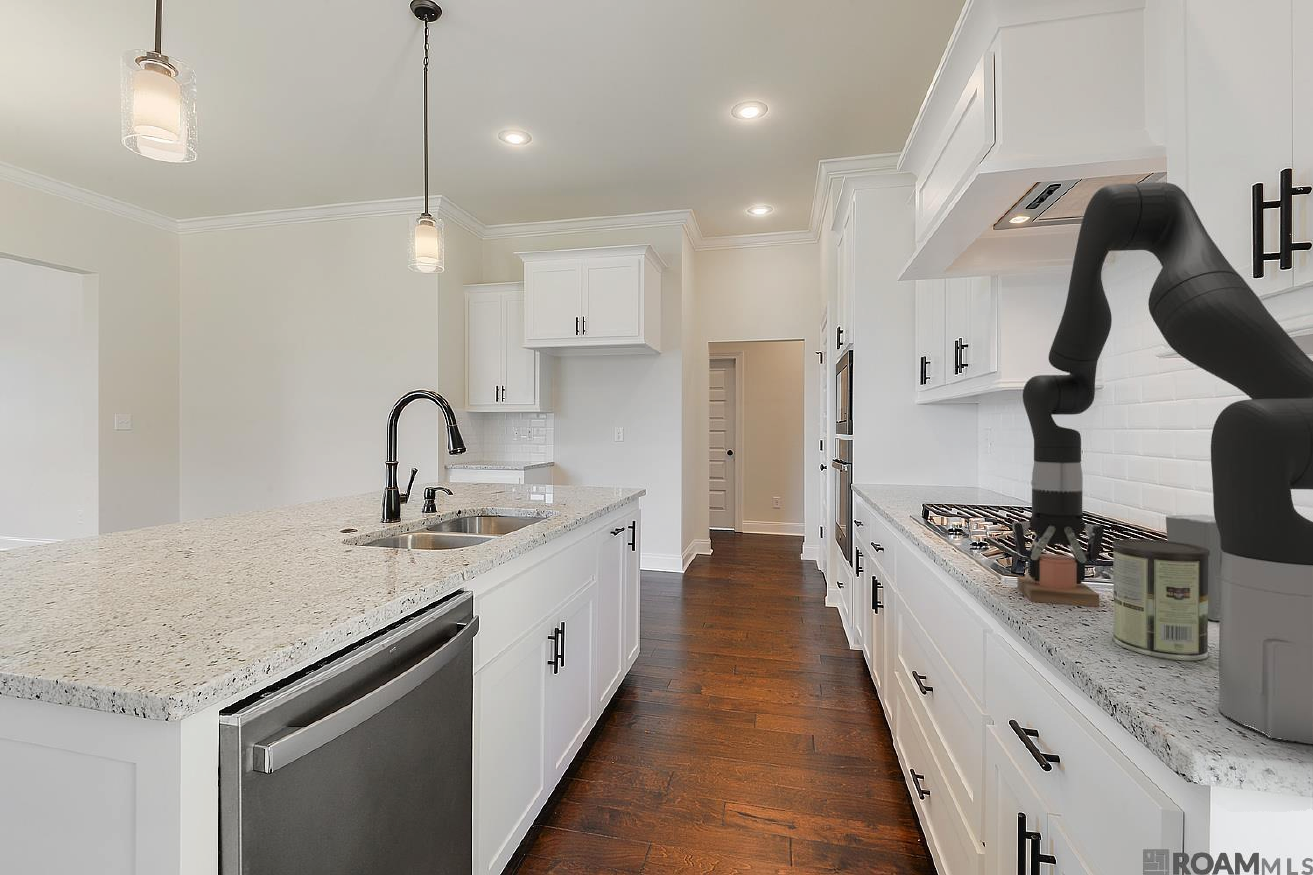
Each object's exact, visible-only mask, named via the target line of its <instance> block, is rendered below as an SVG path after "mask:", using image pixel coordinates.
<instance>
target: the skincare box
mask: <svg viewBox="0 0 1313 875" xmlns="http://www.w3.org/2000/svg"><path fill="white" fill-rule="evenodd" d="M1165 527H1166V528H1165V529H1166V541H1171V542H1179V543H1186V544H1191V545H1196V546H1200V547H1204V548H1206V549H1208V550H1209V551H1210V555H1209V557H1208V620H1210V621H1215V622H1216V621H1217V622H1218V621H1219V607H1220V550H1221V541H1220V533H1219V530H1218V527H1217V524H1216V521H1215V516H1214V515H1208V514H1187V515H1186V514H1183V515H1181V514H1180V515H1166V516H1165Z"/></svg>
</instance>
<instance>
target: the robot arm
mask: <svg viewBox="0 0 1313 875" xmlns="http://www.w3.org/2000/svg"><path fill="white" fill-rule="evenodd" d="M1077 237H1078V239H1077V244H1076V248H1075V252H1074V253H1075V254H1074V258H1073V264H1072V268H1071V270H1072V271H1071V276H1070V280H1069V286H1068V292H1067V298H1066V302H1065V305H1064V306H1065V307H1064V310H1063V314H1062V316H1061V319H1060V323H1059V326H1058V328H1057V331H1056V333H1055V336H1054V339H1053V342H1052V343H1051V346H1050V350H1049V353H1048V362H1049V364H1050V365H1051V366H1052V367H1053V368H1055V369H1057V370H1059V371H1061V372H1065V373H1068V374H1047V375H1045V374H1044V375H1042V374H1040V375H1039V374H1038V375H1035V376H1032V377H1030V378H1029V379H1028V380H1027V382H1026V383H1025V385H1024V387H1023V390H1022V402H1023V406H1024V409H1025V412H1026V415H1027V418H1028V421H1029V424H1030V428H1031V433H1032V437H1033V467H1032V472H1031V481H1030V483H1031V516H1030V518H1029V519H1028V521H1017V520H1014V521H1012V522H1011V528H1012V534H1013V535H1012V536H1013V540H1014V547H1015V552H1017V553H1018V555H1020V556H1022V557H1025V558H1027V574H1028V577H1032V579H1033V580H1034V581H1039V560H1038V558H1039V556H1040V554H1042V552H1043V551H1044V550H1045V549H1046V547H1047V545H1051V546H1052V545H1053V546H1054V545H1062V546H1067V548H1068V549H1069V550H1070V553H1071V554H1072V556H1073V558H1075V562H1077V583H1076V584H1081V582H1084V581H1085V579H1086V563H1088V562H1089V561H1097V560H1099V558H1100V552H1101V549H1102V542H1103V537H1104V533H1105V528H1104V527H1103V526H1101V525H1098V524H1089V523H1088V524H1087V523H1086V522H1085V521H1084V520H1083V485H1084V484H1083V483H1084V482H1083V481H1084V480H1083V469H1082V436H1081V433H1080V432H1079V431H1078V430H1076V429H1072V428H1069V427H1062V426H1059V425H1058V424H1057V423H1056V422H1055V420H1054V418H1053V415H1057V416H1058V415H1062V416H1064V415H1065V416H1066V415H1068V416H1069V415H1079V414H1082V413H1083V412H1085V411H1087V410H1088V409H1089V408H1090V407H1091V406H1092V404H1093V403H1094V400H1095V396H1096V393H1095V392H1096V377H1097V376H1096V375H1097V366H1098V361H1099V359H1100V356H1101V354H1102V351H1103V349H1104V348H1105V344H1106V343H1107V340H1108V338H1109V335H1110V332H1111V329H1112V321H1113V320H1112V319H1113V318H1112V312H1111V307H1110V303H1109V301H1108V298H1107V296H1106V293H1105V290H1104V285H1103V280H1102V270H1103V266H1104V263H1105V260H1106V258H1107V256H1108V254H1109V252H1119V251H1120V252H1121V251H1123V252H1124V251H1125V252H1126V251H1147V252H1150V253H1152V254H1153V256H1155V257H1156V258H1157V261H1158V262H1159V263H1160V266H1161V267H1162V268H1161V269H1160V271H1159V274H1157V277H1156V279H1155V281H1154V283H1153V285H1152V287H1151V289H1150V292H1149V297H1148V304H1147V305H1148V310H1149V314H1150V316H1151V318H1152V321H1153V322H1154V323H1155V325H1156V326H1157V329H1159V332H1160V333H1161V335H1162V337H1163V338H1164V340H1165V341H1166V342H1167V344H1168V345H1169V347H1170V348H1171V349H1172V350H1174V352H1176V353H1177V354H1178V355H1179V356H1181V357H1183V358H1184V359H1185V360H1187V361H1188V362H1189V363H1191V364H1193V365H1195V366H1197V367H1199V368H1200V369H1202V370H1204V371H1205V372H1208V373H1209V374H1212V376H1215V377H1217V378H1219V379H1221V380H1222V381H1225V382H1227V383H1228V384H1230V385H1232V387H1233V386H1234V387H1235V388H1237V389H1238V390H1239V391H1241V392H1243V394H1244V393H1245V395H1246V396H1247V397H1249V398H1250V399H1244V400H1243V399H1242V400H1238V401H1234V402H1232V403H1230V404H1229V405H1227V406H1226V407H1225V408H1224V409H1223V410H1222V411H1220V412H1219V415H1218V416H1217V418H1216V420H1215V422H1214V424H1213V427H1212V428H1213V429H1212V433H1211V438H1210V463H1211V465H1210V466H1211V480H1212V481H1211V482H1212V494H1213V496H1212V497H1213V500H1212V502H1213V516H1215V521H1216V524H1217V527H1218V530H1219V533H1220V541H1221V550H1220V607H1219V622H1218V624H1219V626H1218V627H1219V628H1218V710H1219V712H1220V713H1221V712H1222V713H1223V714H1222V715H1224V716H1225V717H1226V716H1227V717H1226V718H1228V717H1230V718H1231V719H1233V720H1235V721H1237V722H1239V723H1241V724H1245V725H1248V726H1251V727H1254V728H1256V729H1258V730H1260V731H1263V732H1264V733H1265V734H1267V735H1268V736H1270V737H1271V738H1270V739H1272V738H1281V739H1285V740H1284V741H1286V740H1292V741H1291V742H1294V741H1298V742H1297V743H1303V744H1312V745H1313V520H1310V519H1308V518H1306V517H1304V516H1303V515H1301V514H1300V513H1298V511H1297V510H1296V509H1295V506H1294V503H1293V498H1292V496H1293V495H1292V490H1313V360H1312V359H1311V358H1310V357H1309V356H1308V355H1307V354H1306V353H1305V352H1304V351H1303V350H1302V349H1301V347H1300V346H1299V345H1297V343H1296V342H1295V341H1294V340H1293V339H1292V338H1291V336H1290V335H1289V334H1288V333H1287V332H1286V331H1285V329H1284V328H1283V327H1282V326H1281V324H1279V322H1278V321H1277V320H1276V319H1275V318H1274V317H1273V315H1271V313H1270V312H1269V311H1268V309H1267V308H1266V306H1265V305H1264V304H1263V302H1262V301H1261V299H1260V298H1259V296H1258V295H1257V294H1256V293H1255V292H1254V290H1253V289H1252V288H1251V286H1249V284H1248V282H1246V281H1245V279H1244V278H1243V277H1242V276H1241V275H1240V273H1239V272H1237V270H1235V268H1234V267H1233V266H1232V265H1231V264H1230V262H1229V261H1228V259H1227V258H1226V257H1225V255H1224V254H1223V253H1222V251H1221V250H1220V249H1219V247H1218V246H1217V244H1216V243H1215V242H1214V240H1213V239H1212V238H1211V236H1210V235H1209V233H1208V232H1207V230H1206V228H1205V226H1204V224H1203V223H1202V221H1201V219H1200V217H1199V215H1198V213H1197V211H1196V209H1195V208H1194V205H1193V204H1192V202H1191V200H1190V198H1189V197H1188V195H1187V194H1186V193H1185V192H1184V190H1183V189H1181V188H1180V186H1178V185H1176V184H1174V183H1170V182H1164V181H1163V182H1161V181H1158V182H1157V181H1155V182H1136V183H1134V182H1133V183H1115V184H1108V185H1105V186H1102V187H1101V188H1099V189H1097V191H1096V192H1095V193H1094V194H1093V195H1092V197H1091V199H1090V200H1089V202H1088V204H1087V206H1086V209H1085V210H1084V214H1083V217H1082V220H1081V225H1080V229H1079V234H1078V236H1077ZM1029 528H1030V529H1031V530H1032V531H1033V532H1034V535H1035V537H1034V538H1033V540H1032V542H1031V546H1030V548H1029V549H1027V546H1026V539H1025V534H1027V533H1028V529H1029ZM1084 531H1085V534H1086V535H1087V537H1088V540H1087V546H1086V551H1084V552H1083V548H1082V546H1081V544H1080V543H1079V540H1078V539H1077V538H1078V537H1079V536H1080V535H1081V534H1082V533H1083V532H1084ZM1231 719H1230V720H1231ZM1233 720H1232V721H1233ZM1235 721H1234V722H1235ZM1237 722H1236V723H1237ZM1239 723H1238V724H1239ZM1241 724H1240V725H1241Z"/></svg>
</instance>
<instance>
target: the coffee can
mask: <svg viewBox="0 0 1313 875" xmlns="http://www.w3.org/2000/svg"><path fill="white" fill-rule="evenodd" d="M1111 543H1112V548H1113V565H1112V566H1113V568H1112V570H1113V575H1112V576H1113V594H1112V595H1113V600H1112V601H1113V606H1112V607H1113V610H1112V611H1113V614H1112V615H1113V619H1112V620H1113V625H1112V626H1113V636H1112V641H1113V642H1114V643H1115V644H1116V645H1118V646H1119V647H1122V648H1124V649H1126V650H1129V651H1132V652H1135V653H1139V654H1142V655H1146V656H1149V657H1153V658H1159V659H1165V660H1173V661H1188V662H1189V661H1190V662H1191V661H1202V660H1206V659H1207V658H1208V657H1209V655H1210V654H1209V652H1208V651H1209V650H1208V648H1209V645H1208V644H1209V642H1208V638H1209V637H1208V635H1209V634H1208V632H1209V630H1208V629H1209V621H1208V620H1209V619H1208V557H1209V555H1210V551H1209V550H1208V549H1206V548H1204V547H1200V546H1196V545H1191V544H1186V543H1179V542H1171V541H1167V540H1161V539H1160V540H1159V539H1147V538H1145V539H1144V538H1143V539H1142V538H1140V539H1139V538H1125V539H1123V538H1122V539H1117V540H1113V541H1112V542H1111Z"/></svg>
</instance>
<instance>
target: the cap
mask: <svg viewBox="0 0 1313 875" xmlns="http://www.w3.org/2000/svg"><path fill="white" fill-rule="evenodd" d="M1038 560H1039V581H1036V583H1037V584H1039V585H1040V586H1044V587H1048V588H1052V589H1064V590H1070V589H1075V588H1076V583H1077V562H1075V558H1074V556H1073V557H1072V556H1069V555H1065V554H1063V555H1062V554H1054V553H1053V554H1052V553H1041V554H1040V556H1039V558H1038Z"/></svg>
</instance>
